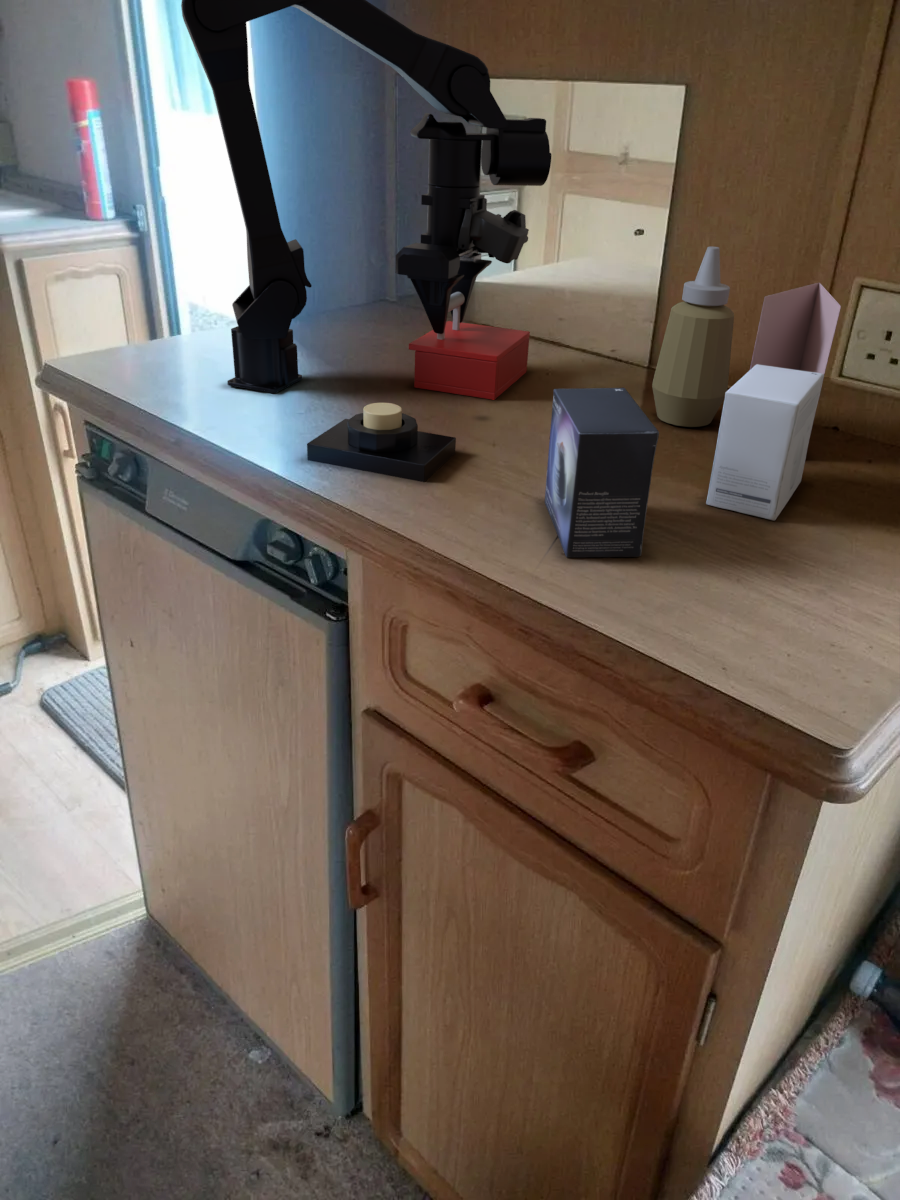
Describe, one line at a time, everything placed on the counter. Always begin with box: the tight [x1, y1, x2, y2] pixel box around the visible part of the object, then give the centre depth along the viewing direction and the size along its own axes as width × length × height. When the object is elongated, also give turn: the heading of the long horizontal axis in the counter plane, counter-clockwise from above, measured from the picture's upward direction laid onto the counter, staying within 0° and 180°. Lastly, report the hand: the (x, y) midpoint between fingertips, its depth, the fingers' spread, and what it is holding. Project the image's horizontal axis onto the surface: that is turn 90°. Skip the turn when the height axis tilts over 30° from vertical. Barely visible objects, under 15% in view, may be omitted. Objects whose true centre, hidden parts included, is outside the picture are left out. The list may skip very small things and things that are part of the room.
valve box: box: [413, 337, 530, 401], centre depth 110 cm, size 10×13×4 cm
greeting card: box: [749, 282, 842, 375], centre depth 92 cm, size 11×7×15 cm, turn 135°
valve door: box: [408, 292, 531, 362], centre depth 107 cm, size 11×13×5 cm
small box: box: [544, 387, 660, 558], centre depth 73 cm, size 11×6×10 cm, turn 5°
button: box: [362, 402, 403, 430], centre depth 86 cm, size 4×4×2 cm
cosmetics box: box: [705, 364, 825, 521], centre depth 81 cm, size 10×6×10 cm, turn 150°
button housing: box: [306, 412, 457, 483], centre depth 87 cm, size 12×8×4 cm, turn 69°
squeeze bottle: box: [651, 246, 735, 428], centre depth 96 cm, size 8×8×18 cm
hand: (448, 327), depth 109 cm, fingers closed on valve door, 6 cm apart
